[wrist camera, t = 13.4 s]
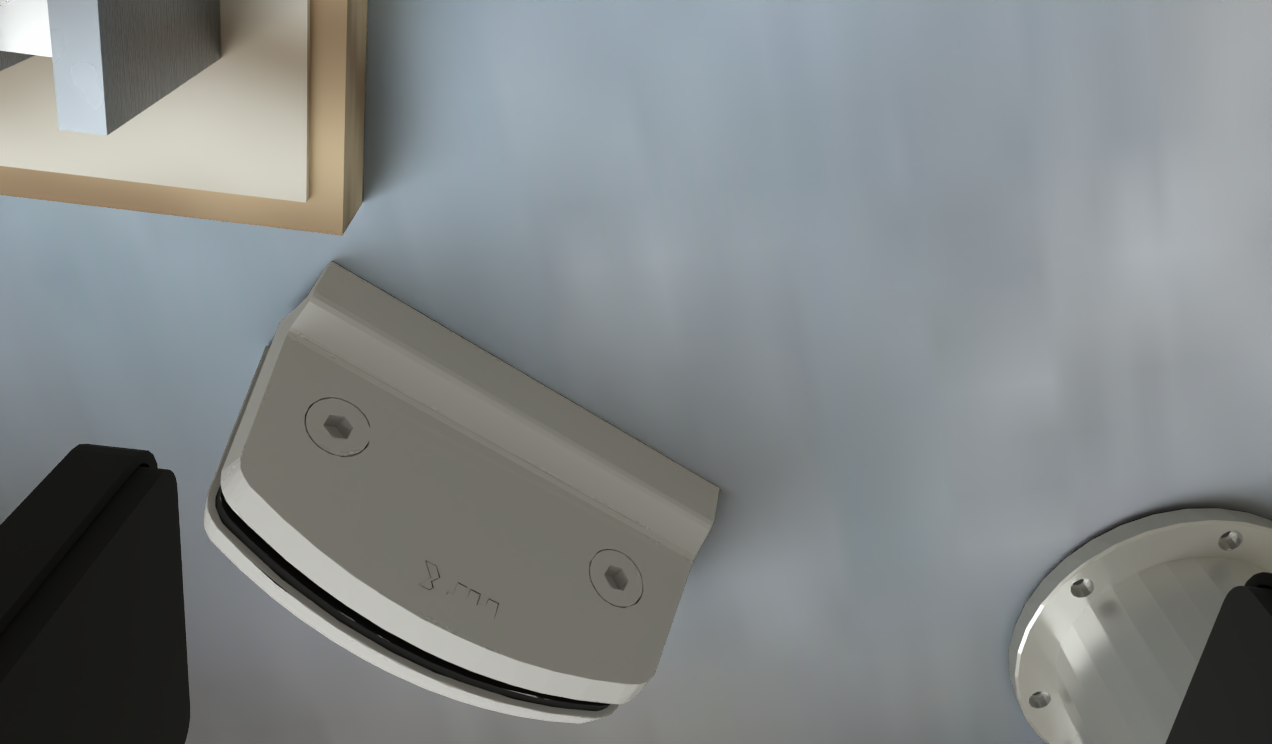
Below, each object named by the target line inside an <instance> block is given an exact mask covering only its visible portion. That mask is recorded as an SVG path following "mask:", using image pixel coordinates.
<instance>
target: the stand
mask: <svg viewBox="0 0 1272 744" xmlns="http://www.w3.org/2000/svg"><path fill="white" fill-rule="evenodd" d="M367 13H368V0H220V20H221V59H219V60H218V61H216V62H215V63H213V64H212V65H210V66H209V67H207V68H206V69H205V70H203V71H202V72H200V73H199V74H197V75H196V76H194V77H193V78H191V79H190V80H188V81H187V82H185V83H184V84H182V85H181V86H179V87H178V88H177V89H175V90H174V91H172V92H171V93H169V94H168V95H166V96H165V97H163V98H162V99H160V100H159V101H157V102H156V103H154V104H153V105H151V106H150V107H149V108H147V109H146V110H144V111H143V112H141V113H140V114H138V115H137V116H135V117H134V118H132V119H131V120H129V121H128V122H126V123H125V124H123V125H122V126H121V127H119V128H118V129H116V130H115V131H113V132H112V133H110V134H109V135H107V136H106V135H98V134H90V133H82V132H74V131H66V130H59V126H58V115H57V104H56V93H55V82H54V71H53V60H52V57H46V56H39V55H35V56H33V57H31V58H28V59H26V60H24V61H22V62H20V63H17V64H15V65H13V66H11V67H9V68H6V69H4V70H2V71H0V195H6V196H15V197H23V198H31V199H40V200H48V201H57V202H65V203H74V204H82V205H90V206H99V207H107V208H116V209H124V210H133V211H141V212H149V213H158V214H166V215H175V216H183V217H192V218H200V219H208V220H217V221H225V222H234V223H242V224H251V225H259V226H267V227H276V228H284V229H293V230H301V231H310V232H318V233H326V234H335V235H343V234H344V232H345V230H346V229H347V227H348V226H349V224H350V222H351V221H352V219H353V217H354V216H355V214H356V213H357V211H358V209H359V208H360V206H361V204H362V191H363V155H364V120H365V84H366V48H367Z"/></svg>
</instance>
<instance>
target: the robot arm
mask: <svg viewBox="0 0 1272 744" xmlns="http://www.w3.org/2000/svg"><path fill="white" fill-rule="evenodd" d="M1009 675H1010V678H1011V682H1012V686H1013V689H1014V693H1015V696H1016V698H1017V700H1018V702H1019V705H1020V707H1021V709H1022V711H1023V713H1024V715H1025V718H1026V720H1027V721H1028V722H1029V724H1030V725H1031V726H1032V728H1033V729H1034V730H1035V731H1036V733H1037V734H1038V735H1039V737H1040V738H1041V739H1043V740H1044V741H1045V742H1046V743H1048V744H1272V521H1271V520H1268V519H1265V518H1262V517H1260V516H1257V515H1254V514H1251V513H1247V512H1240V511H1234V510H1227V509H1221V508H1203V509H1183V510H1177V511H1171V512H1165V513H1159V514H1154V515H1151V516H1148V517H1145V518H1142V519H1139V520H1135V521H1132V522H1129V523H1126V524H1123V525H1121V526H1119V527H1117V528H1115V529H1113V530H1111V531H1109V532H1107V533H1105V534H1103V535H1101V536H1099V537H1097V538H1095V539H1093V540H1091V541H1090V542H1088V543H1087V544H1085V545H1084V546H1082V547H1081V548H1080V549H1078V550H1077V551H1075V552H1074V553H1072V554H1071V555H1069V556H1068V557H1067V558H1065V559H1064V560H1063V561H1062V562H1061V563H1060V564H1059V565H1058V566H1057V567H1056V568H1055V569H1054V570H1053V571H1052V572H1051V573H1050V574H1049V575H1047V576H1046V577H1045V578H1044V579H1043V581H1042V582H1041V583H1040V585H1039V586H1038V587H1037V589H1036V590H1035V591H1034V593H1033V594H1032V595H1031V597H1030V598H1029V600H1028V601H1027V602H1026V604H1025V606H1024V608H1023V610H1022V613H1021V615H1020V617H1019V619H1018V621H1017V623H1016V625H1015V628H1014V632H1013V636H1012V640H1011V645H1010V649H1009ZM189 721H190V699H189V682H188V665H187V647H186V630H185V613H184V596H183V578H182V561H181V544H180V527H179V509H178V492H177V482H176V478H175V475H174V473H173V472H172V471H171V470H167V469H158V468H157V463H156V460H155V458H154V455H153V454H152V453H150V452H149V451H146V450H137V449H128V448H119V447H110V446H100V445H91V444H79V445H78V446H76V447H75V448H74V449H72V450H71V451H70V452H69V453H68V454H67V455H66V456H65V458H64V459H63V460H62V461H61V462H60V463H59V464H58V465H57V466H56V467H55V468H54V469H53V470H52V471H51V472H50V473H49V474H48V475H47V477H46V478H45V479H44V480H43V481H42V482H41V483H40V484H39V485H38V486H37V487H36V488H35V489H34V490H33V491H32V492H31V493H30V494H29V496H28V497H27V498H26V499H25V500H24V501H23V502H22V503H21V504H20V505H19V506H18V507H17V508H16V509H15V510H14V511H13V512H12V513H11V515H10V516H9V517H8V518H7V519H6V520H5V521H4V522H3V523H2V524H1V525H0V744H185V741H186V737H187V733H188V728H189Z"/></svg>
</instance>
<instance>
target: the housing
mask: <svg viewBox="0 0 1272 744" xmlns="http://www.w3.org/2000/svg"><path fill="white" fill-rule="evenodd" d="M35 55H39V56H46V57H52V60H53V71H54V82H55V93H56V104H57V115H58V126H59V130H66V131H74V132H82V133H90V134H98V135H106V136H107V135H109V134H110V133H112V132H113V131H115V130H116V129H118V128H119V127H121V126H122V125H123V124H125V123H126V122H128V121H129V120H131V119H132V118H134V117H135V116H137V115H138V114H140V113H141V112H143V111H144V110H146V109H147V108H149V107H150V106H151V105H153V104H154V103H156V102H157V101H159V100H160V99H162V98H163V97H165V96H166V95H168V94H169V93H171V92H172V91H174V90H175V89H177V88H178V87H179V86H181V85H182V84H184V83H185V82H187V81H188V80H190V79H191V78H193V77H194V76H196V75H197V74H199V73H200V72H202V71H203V70H205V69H206V68H207V67H209V66H210V65H212V64H213V63H215V62H216V61H218V60H219V59H221V20H220V0H0V71H2V70H4V69H6V68H9V67H11V66H13V65H15V64H17V63H20V62H22V61H24V60H26V59H28V58H31V57H33V56H35Z"/></svg>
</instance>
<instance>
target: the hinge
mask: <svg viewBox="0 0 1272 744" xmlns="http://www.w3.org/2000/svg"><path fill="white" fill-rule="evenodd" d="M719 489H720V488H718V487H716V486H715V485H713V484H711V483H710V482H708V481H706V480H704V479H703V478H701V477H699V476H698V475H696V474H694V473H692V472H691V471H689V470H687V469H686V468H684V467H682V466H681V465H679V464H677V463H675V462H674V461H672V460H670V459H669V458H667V457H665V456H663V455H662V454H660V453H658V452H657V451H655V450H653V449H652V448H650V447H648V446H646V445H645V444H643V443H641V442H640V441H638V440H636V439H634V438H633V437H631V436H629V435H628V434H626V433H624V432H623V431H621V430H619V429H617V428H616V427H614V426H612V425H611V424H609V423H607V422H605V421H604V420H602V419H600V418H599V417H597V416H595V415H593V414H592V413H590V412H588V411H587V410H585V409H583V408H582V407H580V406H578V405H576V404H575V403H573V402H571V401H570V400H568V399H566V398H564V397H563V396H561V395H559V394H558V393H556V392H554V391H553V390H551V389H549V388H547V387H546V386H544V385H542V384H541V383H539V382H537V381H535V380H534V379H532V378H530V377H529V376H527V375H525V374H524V373H522V372H520V371H518V370H517V369H515V368H513V367H512V366H510V365H508V364H506V363H505V362H503V361H501V360H500V359H498V358H496V357H495V356H493V355H491V354H489V353H488V352H486V351H484V350H483V349H481V348H479V347H477V346H476V345H474V344H472V343H471V342H469V341H467V340H466V339H464V338H462V337H460V336H459V335H457V334H455V333H454V332H452V331H450V330H448V329H447V328H445V327H443V326H442V325H440V324H438V323H437V322H435V321H433V320H431V319H430V318H428V317H426V316H425V315H423V314H421V313H419V312H418V311H416V310H414V309H413V308H411V307H409V306H408V305H406V304H404V303H402V302H401V301H399V300H397V299H396V298H394V297H392V296H390V295H389V294H387V293H385V292H384V291H382V290H380V289H379V288H377V287H375V286H373V285H372V284H370V283H368V282H367V281H365V280H363V279H361V278H360V277H358V276H356V275H355V274H353V273H351V272H350V271H348V270H346V269H344V268H343V267H341V266H339V265H338V264H336V263H334V262H331V263H330V264H329V265H328V266H327V267H326V268H325V269H324V270H323V271H322V273H321V275H320V276H319V278H318V280H317V281H316V283H315V285H314V286H313V288H312V289H311V291H310V293H309V294H308V296H307V297H306V299H304V300H303V301H302V302H301V303H300V304H299V305H298V306H297V307H296V308H295V309H294V310H293V311H292V312H291V313H290V314H289V315H287V316H286V317H285V318H284V319H283V320H282V321H281V322H280V323H279V325H278V328H277V330H276V333H275V335H274V338H273V341H272V343H271V346H270V347H268V346H266V347H265V350H264V352H263V355H262V357H261V360H260V362H259V365H258V368H257V370H256V373H255V375H254V378H253V380H252V383H251V385H250V388H249V390H248V393H247V395H246V398H245V400H244V403H243V406H242V408H241V411H240V413H239V416H238V418H237V421H236V423H235V426H234V428H233V431H232V433H231V436H230V438H229V441H228V443H227V446H226V449H225V451H224V454H223V456H222V459H221V461H220V464H219V466H218V469H217V471H216V474H215V476H214V479H213V481H212V484H211V486H210V489H209V492H208V494H207V501H206V507H205V514H204V527H205V530H206V533H207V535H208V536H209V538H210V540H211V541H212V542H213V543H214V544H215V545H216V546H217V547H218V548H219V549H220V550H221V551H222V552H223V553H224V554H225V555H226V556H227V557H228V558H229V559H230V560H231V561H232V562H233V563H234V564H235V565H236V566H237V567H238V568H239V569H240V570H241V571H242V572H243V573H244V574H246V575H247V576H248V577H249V578H250V579H251V580H253V581H254V582H255V583H256V584H257V585H258V586H259V587H261V588H262V589H263V590H264V591H265V592H266V593H267V594H269V595H270V596H271V597H272V598H273V599H275V600H276V601H277V602H278V603H280V604H281V605H282V606H284V607H285V608H286V609H288V610H289V611H290V612H291V613H293V614H294V615H295V616H297V617H298V618H299V619H301V620H302V621H304V622H305V623H307V624H308V625H310V626H311V627H313V628H314V629H315V630H317V631H318V632H320V633H321V634H323V635H324V636H326V637H327V638H329V639H330V640H332V641H333V642H335V643H337V644H338V645H340V646H342V647H343V648H345V649H347V650H349V651H350V652H352V653H354V654H355V655H357V656H359V657H360V658H362V659H364V660H366V661H368V662H370V663H372V664H374V665H375V666H377V667H379V668H381V669H383V670H385V671H387V672H389V673H391V674H393V675H395V676H398V677H400V678H402V679H404V680H407V681H409V682H411V683H413V684H415V685H418V686H420V687H422V688H425V689H428V690H430V691H433V692H436V693H438V694H441V695H444V696H446V697H449V698H452V699H455V700H458V701H461V702H464V703H468V704H471V705H474V706H477V707H481V708H484V709H488V710H493V711H497V712H501V713H505V714H510V715H514V716H519V717H526V718H532V719H539V720H545V721H555V722H568V723H584V722H588V721H592V720H596V719H600V718H603V717H607V716H609V715H610V714H612V713H613V712H614V711H615V710H616V709H617V707H618V705H619V704H623V703H626V702H628V701H630V700H632V699H634V698H635V697H636V696H637V694H638V693H639V692H640V691H641V690H642V688H643V687H644V686H645V685H646V684H647V683H648V681H649V680H650V679H651V678H652V677H653V676H654V674H655V672H656V669H657V666H658V663H659V660H660V657H661V654H662V651H663V648H664V646H665V643H666V640H667V637H668V634H669V631H670V628H671V625H672V622H673V619H674V616H675V613H676V610H677V607H678V604H679V601H680V598H681V595H682V593H683V590H684V587H685V584H686V581H687V578H688V575H689V572H690V569H691V566H692V563H693V561H694V559H695V556H696V555H697V553H698V551H699V549H700V547H701V546H702V544H703V542H704V540H705V538H706V537H707V535H708V533H709V531H710V529H711V527H712V525H713V522H714V520H715V514H716V507H717V501H718V495H719Z"/></svg>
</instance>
